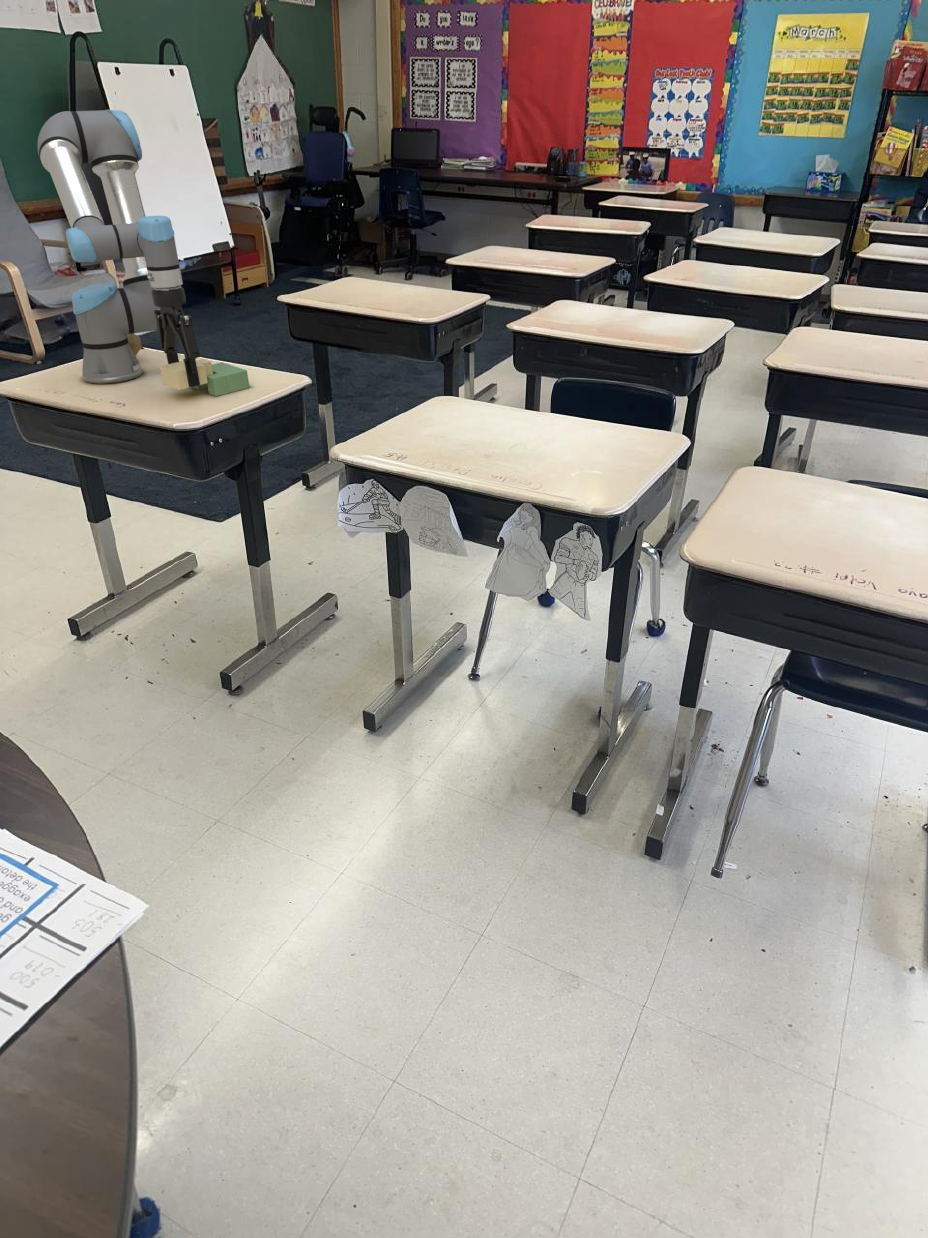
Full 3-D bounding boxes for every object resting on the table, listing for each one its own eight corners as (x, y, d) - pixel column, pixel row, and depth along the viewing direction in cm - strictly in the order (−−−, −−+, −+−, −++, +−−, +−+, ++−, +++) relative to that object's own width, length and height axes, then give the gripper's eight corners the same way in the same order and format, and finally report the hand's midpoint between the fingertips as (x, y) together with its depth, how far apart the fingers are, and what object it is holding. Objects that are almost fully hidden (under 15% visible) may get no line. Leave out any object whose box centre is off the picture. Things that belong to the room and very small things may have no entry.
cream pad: (163, 383, 217) (159, 365, 214) (201, 374, 223) (198, 357, 221) (179, 389, 212) (175, 371, 209) (218, 380, 218) (215, 362, 216)
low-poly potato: (94, 359, 252) (82, 349, 241) (101, 322, 252) (90, 311, 240) (146, 372, 254) (137, 363, 243) (153, 335, 254) (145, 325, 243)
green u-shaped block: (191, 387, 225) (188, 369, 222) (224, 378, 231) (221, 361, 228) (216, 396, 217) (213, 378, 215) (249, 387, 223) (246, 370, 221)
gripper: (131, 284, 209) (151, 378, 221) (174, 295, 196) (193, 393, 208) (160, 280, 213) (178, 372, 225) (203, 290, 201) (220, 386, 212)
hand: (185, 382), depth 216 cm, fingers closed on cream pad, 8 cm apart
